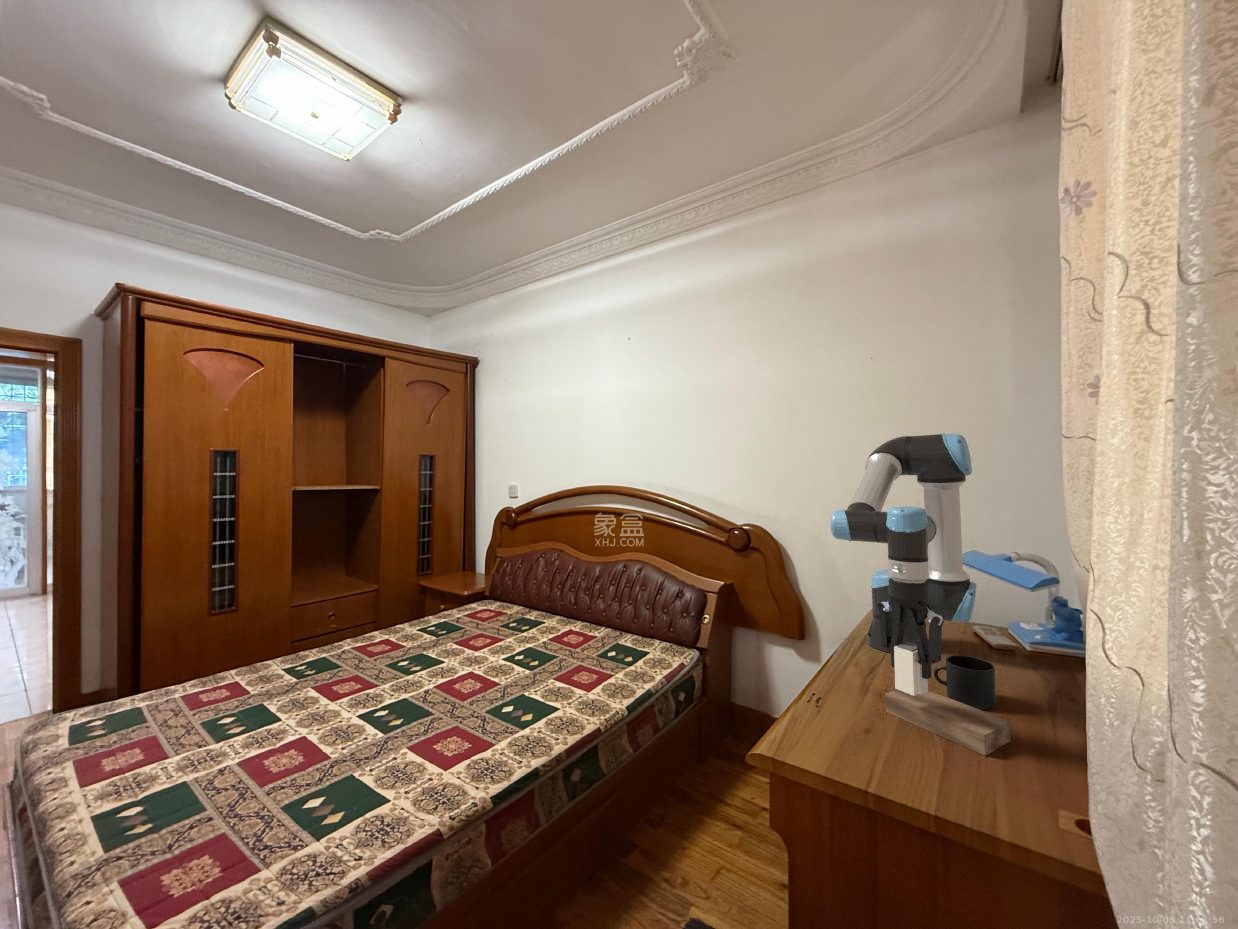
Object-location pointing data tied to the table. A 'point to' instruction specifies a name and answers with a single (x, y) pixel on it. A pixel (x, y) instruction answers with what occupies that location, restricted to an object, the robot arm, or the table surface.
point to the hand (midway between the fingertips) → (911, 687)
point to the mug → (969, 681)
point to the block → (906, 667)
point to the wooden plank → (951, 720)
